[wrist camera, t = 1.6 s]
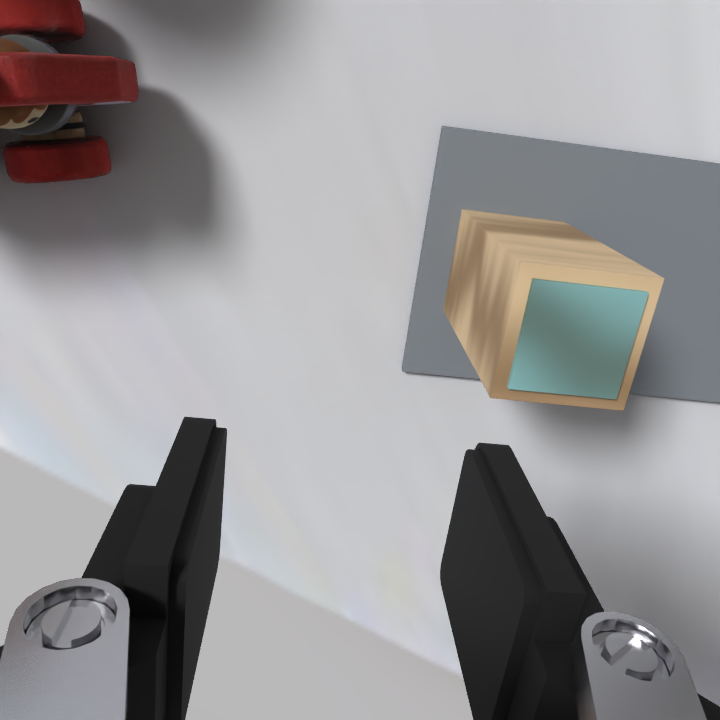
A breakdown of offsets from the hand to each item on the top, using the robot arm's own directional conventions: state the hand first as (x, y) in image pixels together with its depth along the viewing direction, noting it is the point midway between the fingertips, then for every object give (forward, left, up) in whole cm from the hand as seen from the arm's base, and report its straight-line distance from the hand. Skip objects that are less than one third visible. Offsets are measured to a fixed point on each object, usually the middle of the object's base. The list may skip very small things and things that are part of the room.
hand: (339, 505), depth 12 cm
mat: (0, +14, -21) cm, 25 cm away
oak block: (0, +9, -21) cm, 23 cm away
